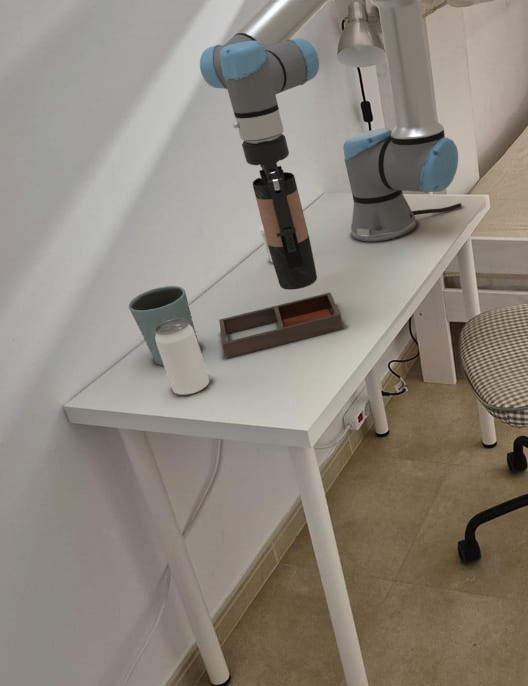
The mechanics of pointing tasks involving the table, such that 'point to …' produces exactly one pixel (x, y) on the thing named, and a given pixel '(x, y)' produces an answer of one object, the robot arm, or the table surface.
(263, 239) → the milkshake
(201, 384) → the can
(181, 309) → the green tapered cup
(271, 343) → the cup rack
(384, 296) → the table surface
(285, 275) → the travel mug
